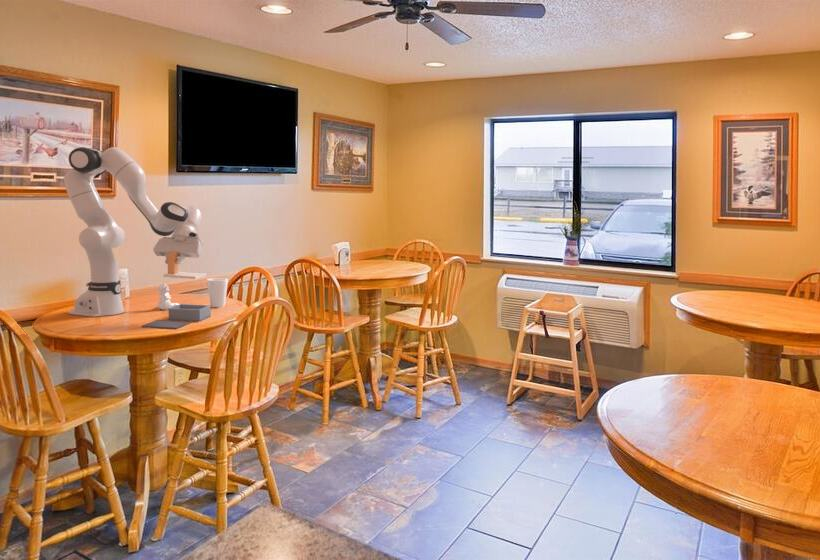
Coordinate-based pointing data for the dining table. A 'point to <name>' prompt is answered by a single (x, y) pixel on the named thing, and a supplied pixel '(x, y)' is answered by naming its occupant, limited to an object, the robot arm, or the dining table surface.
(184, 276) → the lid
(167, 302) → the white creature statuette
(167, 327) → the mat
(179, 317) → the tub
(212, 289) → the foam cup
